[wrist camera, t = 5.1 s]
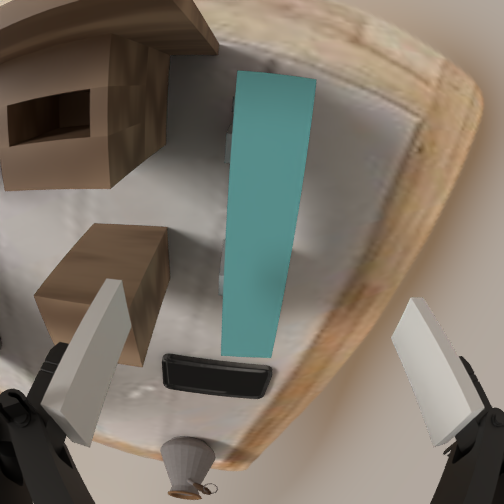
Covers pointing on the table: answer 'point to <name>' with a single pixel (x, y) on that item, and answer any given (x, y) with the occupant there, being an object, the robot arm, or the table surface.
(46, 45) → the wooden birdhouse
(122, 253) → the block
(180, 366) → the phone
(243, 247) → the teal rail
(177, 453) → the coffee pot
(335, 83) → the table surface
